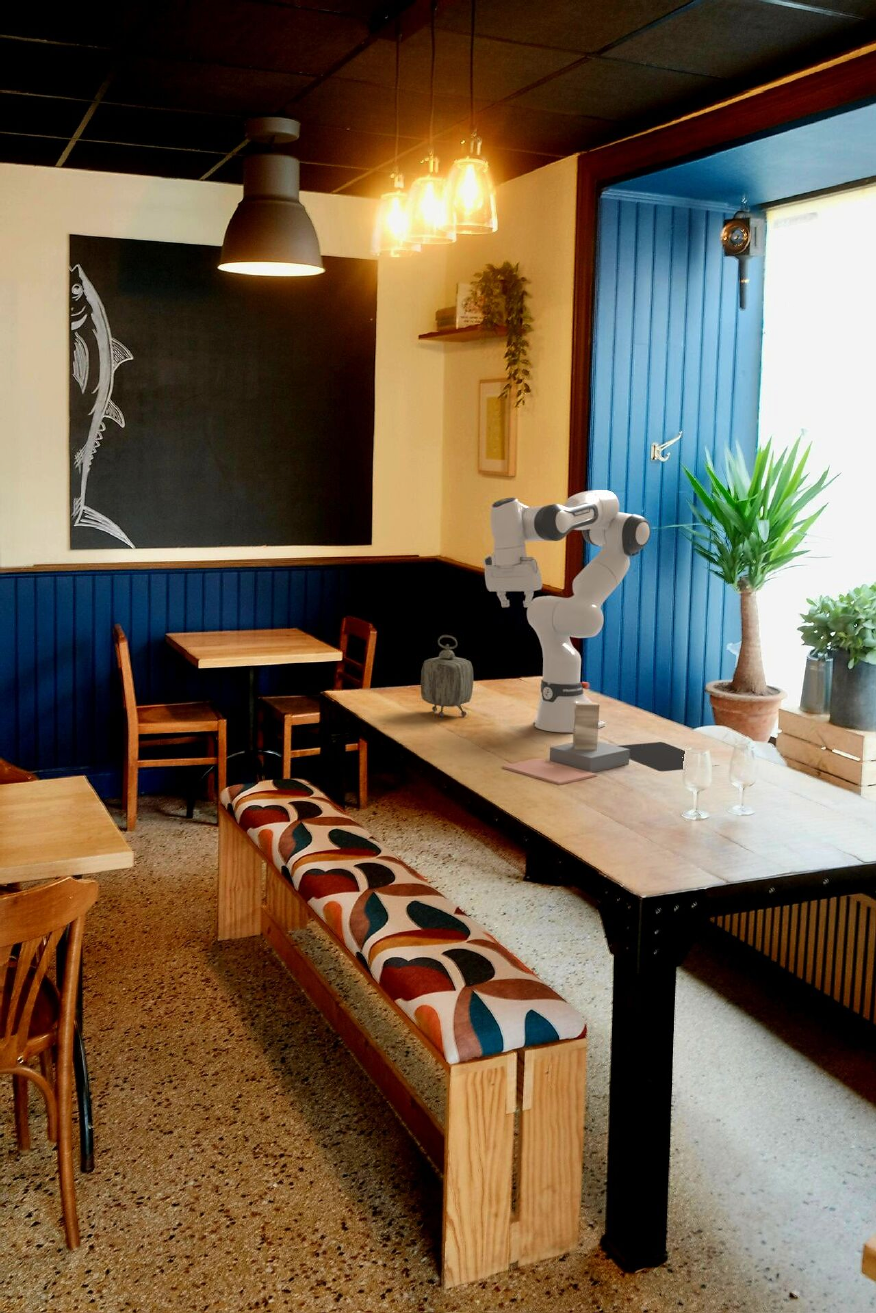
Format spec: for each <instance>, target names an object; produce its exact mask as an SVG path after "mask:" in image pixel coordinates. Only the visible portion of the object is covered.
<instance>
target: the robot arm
mask: <svg viewBox="0 0 876 1313" xmlns="http://www.w3.org/2000/svg"><path fill="white" fill-rule="evenodd" d="M489 516H490V528H491V535H492V537H493V541H494V543H493V553H491V554H489V555H488V556H486V557H484V558H483V561H482V562H483V565H484V567H485V569H484V580H485V586H486V589H487V591H489V592H496V596H497V597H498V599H499V601H500V603H501V607H502V608H509V607H510V599H507V596H506V594H507V592H524V593H523V594H524V596H525V599H524V600H523V601H522V604H523V607H524V608H527V609H526V618H527V621H528V624H529V625H530V626H531V628H533V630H534V631H535V633H536V635H537V637H538V639H539V643H540V646H541V649H542V650H541V651H542V658H543V659H542V660H543V662H542V665H543V666H542V679H541V682H540V692H541V695H540V697H539V700H538V707H537V713H536V714H537V715H536V718H534V727H535V728H537V729H539V730H541V731H547V732H553V733H572V734H573V729H574V711H575V702H579V703H594V702H593V701H592V700H591V699H590V698H588V697H587V696H586V694H584V692H585V691H584V690H585V689H586V690H589V688H590V686H591V685H590V683H589V682H585V681H582V682H581V668H582V667H581V666H582V658H581V654H580V652H579V651H578V650H577V649H576V648H575V647H574V646H573V643H572V641H571V638H577V639H585V638H593V637H596V636H597V635H598V634H599V633H600V631H601V630H602V629H603V625H604V621H605V620H604V618H605V617H604V613H603V610H602V606H603V603H605V601H606V600H607V599H608V597H609V596H610V595H611V594H612V592H614V590H616V588H617V587H618V586H619V585H620V584H621V582H622V580H623V579H624V578H625V576H626V574H627V573H628V571H629V569H630V566H631V564H630V562H631V560H630V557H635V556H637V555H638V554H639V553H640V551H641V550H643V548H645V546H646V545H647V544H648V542H649V540H650V538H651V525H650V522H649V520H648V519H646V518H645V517H644V516H641V515H639V514H635V513H633V514H631V513H626V512H620V501H619V499H618V496H617V495H616V494H614V492H612V491H610V490H605V489H593V490H592V489H591V490H587V491H581V492H579V493H576V494H573V495H572V496H570V497H568V498H567V499H566V500H565V502H564V505H562V504H557V503H553V504H547V505H542V506H531V507H529V506H528V505H525V504H523V503H521V502H520V501H519V499H518V498H516V497H507V498H502V499H500V500H499V499H498V500H496V501H495V502H493V503H492V504H491V507H490V515H489ZM573 530H575V531H581V533H582V534H581V535H582V536H583V539H584V540H585V542H587V543H588V544H590V545H592V546H595V547H601V549H600V552H599V553H598V554H596V556H595V557H593V559H592V560H591V561H590V562H588V563H587V564H586V566H585V567H583V569H582V570H581V571H579V573H578V574H577V575H576V576H575V578H574V579H573V581H572V593H573V595H572V596H570V597H560V596H554V595H546V596H545V595H543V596H537V597H535V598H533V597H534V592H535V591H540V590H542V589H543V588H542V587H543V579H542V574H541V570H540V567H539V564H538V560H536V559H535V558H534V557H533V556H528V555H527V546H526V543H529V542H531V543H533V542H534V543H535V542H544V541H545V542H546V541H547V542H548V541H549V542H559V541H561V540H563V539H564V538H566V537H567V535H569V533H570V532H571V531H573ZM570 637H571V638H570ZM603 727H606V722H605V721H603V720H601V719H599V723H598V729H600V728H603Z"/></svg>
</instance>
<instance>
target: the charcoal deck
mask: <svg viewBox="0 0 876 1313" xmlns="http://www.w3.org/2000/svg"><path fill="white" fill-rule="evenodd" d="M619 746H620V745H614V744H611V743H606V742H602V741H599V740H598V741H597V750H592V749H574V748H573V742H570V743H568V742H567V743H565V744H560V745H559V744H558V745H555V746H554V745H553V746H550V747H549V761H552V762H555V763H559V764H563V765H566V766H570V767H573V768H577V769H581V770H584V771H588V772H591V773H597V772H601V771H604V770H608V769H614V768H617V767H622V766H627V765H630V759H629V755H630V749H627V748H623V747H619Z"/></svg>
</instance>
